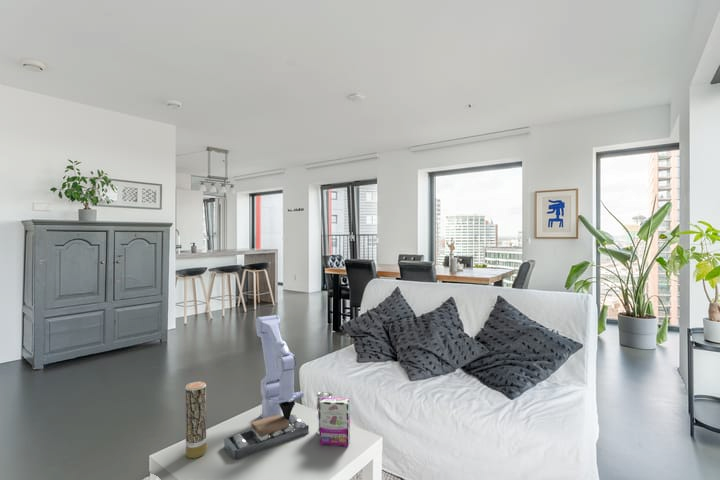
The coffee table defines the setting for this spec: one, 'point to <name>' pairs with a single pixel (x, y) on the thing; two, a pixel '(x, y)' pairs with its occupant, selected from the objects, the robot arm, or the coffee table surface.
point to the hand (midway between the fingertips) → (286, 419)
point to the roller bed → (266, 438)
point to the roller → (239, 441)
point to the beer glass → (318, 399)
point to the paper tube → (195, 419)
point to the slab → (269, 424)
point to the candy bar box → (335, 421)
